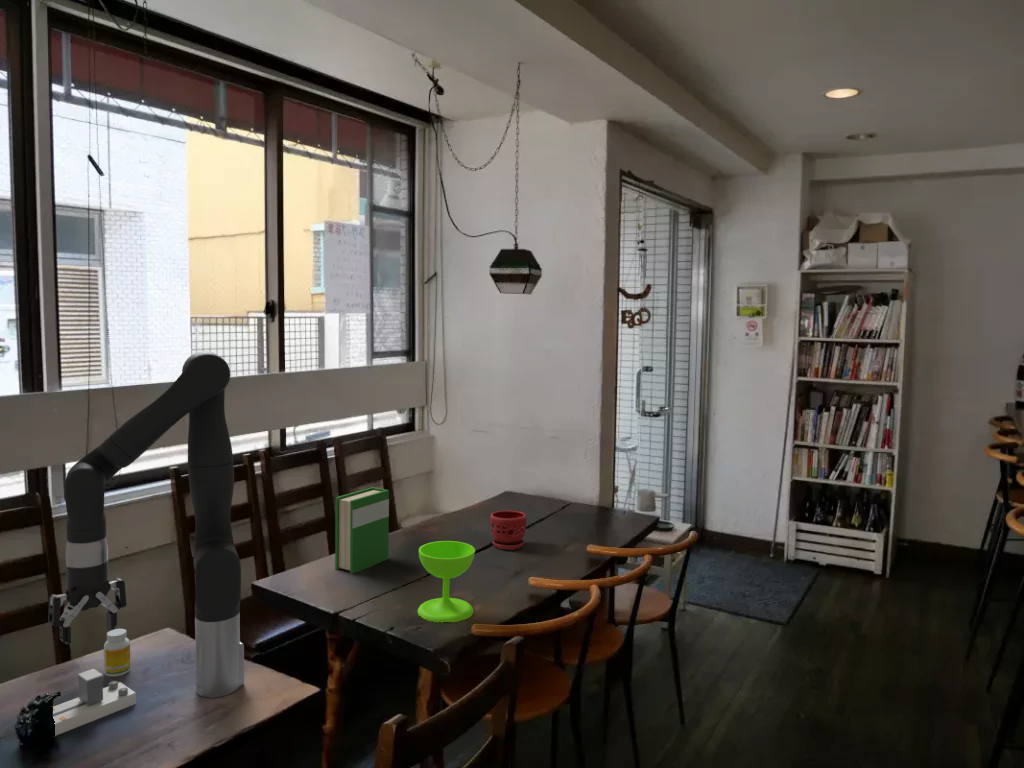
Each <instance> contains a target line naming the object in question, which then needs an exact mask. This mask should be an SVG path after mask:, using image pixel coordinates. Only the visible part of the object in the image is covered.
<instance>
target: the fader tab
mask: <svg viewBox="0 0 1024 768" xmlns="http://www.w3.org/2000/svg"><path fill="white" fill-rule="evenodd" d="M103 681H104V679H103V674H102V673H101V672H99V671H98V670H97V669H95V668H91V669H88V670H86V671H82V672H80V673H78V697H79V699H80V700H81V701H82V702H83V703H85V704H86V705H87V706H89V705H92V704H94V703H97V702H99V701H102V700H103V688H104V685H103Z"/></svg>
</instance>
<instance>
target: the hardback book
mask: <svg viewBox="0 0 1024 768" xmlns="http://www.w3.org/2000/svg"><path fill="white" fill-rule="evenodd" d="M334 507H335V510H334V512H335V515H334V517H335V518H334V519H335V520H334V521H335V523H334V525H335V526H334V527H335V529H334V530H335V531H334V532H335V537H334V538H335V539H334V542H335V543H334V544H335V545H334V546H335V548H334V549H335V550H334V551H335V553H334V554H335V555H334V557H335V558H334V565H335V566H334V570H337V571H338V570H342V569H343V570H346V571H349V574H350V575H354V574H355V573H358V572H360V571H363V570H365V569H368V568H371V567H372V566H375V565H377V564H380V563H382V562H384V561H388V560H389V534H390V531H389V529H390V528H389V527H390V525H389V524H390V523H389V522H390V520H389V519H390V518H389V517H390V513H389V512H390V489H386V488H385V489H384V488H380V487H375V486H374V487H373V486H371V487H368V488H363V489H360V490H357V491H353V492H350V493H347V494H343V495H340V496H336V497H335V506H334Z"/></svg>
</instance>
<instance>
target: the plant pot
mask: <svg viewBox="0 0 1024 768" xmlns="http://www.w3.org/2000/svg"><path fill="white" fill-rule="evenodd" d="M489 521H490V522H489V523H490V531H491V536H492V538H493V540H492V546H494V547H495V548H496V549H497V548H498V549H501V550H511V551H512V550H518V549H520V548H522V547H523V546H524V544H525V540H523V539H524V536H525V533H526V530H527V514H526V513H525V512H523V511H517V510H497V511H495V512H491V514H490V519H489Z"/></svg>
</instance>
